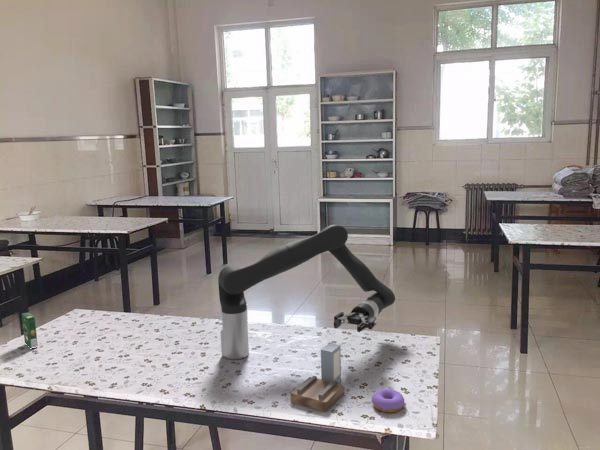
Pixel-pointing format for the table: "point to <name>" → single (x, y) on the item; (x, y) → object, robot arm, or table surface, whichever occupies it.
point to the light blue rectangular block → (331, 363)
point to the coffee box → (29, 329)
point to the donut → (388, 400)
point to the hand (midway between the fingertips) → (346, 327)
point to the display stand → (317, 393)
